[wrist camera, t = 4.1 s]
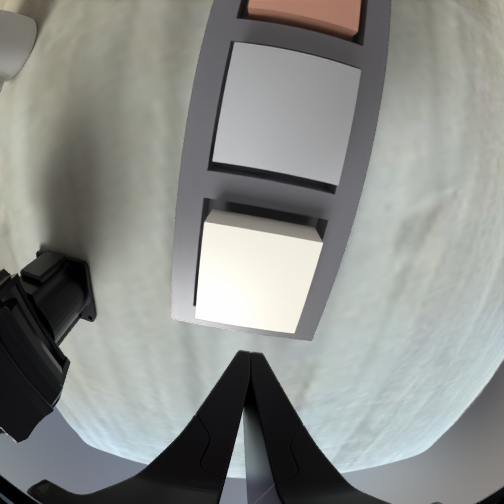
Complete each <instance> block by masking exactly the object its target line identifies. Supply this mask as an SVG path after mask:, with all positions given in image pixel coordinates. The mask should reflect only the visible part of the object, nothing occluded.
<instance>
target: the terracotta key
mask: <svg viewBox="0 0 504 504" xmlns="http://www.w3.org/2000/svg"><path fill="white" fill-rule="evenodd" d="M360 6H361V0H249V4H248V14H249V20H255V21H263V22H270V23H276V24H282V25H287V26H292V27H297V28H302V29H306V30H310V31H315V32H318V33H322V34H326V35H330V36H333V37H336V38H340V39H343V40H346V41H349V40H350V39H351V38H352V37H353V36H354V35H355V34H356V33H357V32H358V26H359V16H360Z"/></svg>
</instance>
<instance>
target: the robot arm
mask: <svg viewBox="0 0 504 504" xmlns="http://www.w3.org/2000/svg"><path fill="white" fill-rule="evenodd" d="M36 257H37V258H36V259H35V260H34V261H32V262H31V263H30V264H28V265H27V266H26V267H24V268H23V269H22V270H21V272H20V274H21V276H20V277H19V275H18V273H16V274H14V275H10V273H8V272H7V271H6V270H5V269H2V270H0V434H7V435H8V436H9V437H10V438H12V439H13V440H14V441H15V442H21V441H23V440H25V439H27V438H28V437H29V435H30V434H31V432H32V431H33V429H34V428H35V427H36V425H37V424H38V423H39V422H40V421H41V420H42V419H43V418H44V417H45V416H46V415H48V414H50V413H51V412H53V410H54V409H53V407H54V406H55V405H56V404H57V402H58V400H59V399H60V396H61V393H62V389H63V385H64V382H65V378H66V375H67V372H68V368H69V365H70V360H69V359H68V358H67V357H66V356H65V355H64V354H63V352H62V351H61V349H60V348H59V347H58V346H59V345H60V344H61V342H62V341H63V340H64V338H65V337H66V336H67V335H68V333H69V332H70V331H71V329H72V328H73V327H74V326H75V324H76V323H77V322H78V320H79V319H80V318H81V319H84V320H87V321H90V322H93V321H94V320H95V319H96V315H95V309H94V304H93V298H92V292H91V286H90V279H89V271H88V265H87V263H86V262H85V261H83V260H79V259H75V258H71V257H67V256H66V255H63V254H59V253H55V252H51V251H44V250H39V251H37V253H36ZM81 265H82V266H83V267H82V266H81ZM242 412H243V423H244V445H245V465H246V482H247V483H246V484H247V500H248V504H391V503H388V502H385V501H383V500H380V499H377V498H375V497H373V496H371V495H368V494H366V493H363V492H361V491H359V490H358V489H356V488H354V487H353V486H351V485H350V484H349V483H348V482H347V481H346V480H345V479H344V477H343V476H342V475H341V474H340V473H339V472H338V470H337V469H336V468H335V467H334V466H333V465H332V463H331V462H330V461H329V460H328V459H327V458H326V456H325V455H324V454H323V453H322V451H321V450H320V449H319V447H318V446H317V445H316V443H315V442H314V440H313V439H312V437H311V436H310V434H309V433H308V431H307V429H306V428H305V426H304V425H303V423H302V421H301V419H300V418H299V416H298V414H297V413H296V411H295V409H294V407H293V406H292V404H291V402H290V401H289V399H288V397H287V395H286V394H285V392H284V390H283V388H282V387H281V385H280V383H279V381H278V380H277V378H276V376H275V374H274V372H273V371H272V369H271V367H270V365H269V364H268V362H267V360H266V358H265V356H264V355H263V353H260V352H251V353H250V352H249V351H244V350H239V351H238V352H237V353H236V355H235V356H234V358H233V360H232V361H231V363H230V364H229V366H228V367H227V369H226V370H225V372H224V373H223V375H222V376H221V378H220V379H219V380H218V382H217V383H216V385H215V386H214V388H213V389H212V391H211V392H210V394H209V395H208V397H207V398H206V399H205V401H204V402H203V404H202V405H201V407H200V408H199V410H198V411H197V412H196V414H195V415H194V416H193V418H192V419H191V421H190V422H189V423H188V425H187V426H186V427H185V428H184V430H183V431H182V432H181V433H180V435H179V436H178V437H177V438H176V439H175V440H174V441H173V442H172V443H171V444H170V445H169V446H168V447H167V448H166V449H165V450H164V451H163V452H162V453H161V454H160V455H159V456H158V457H157V458H155V459H154V460H153V461H152V462H151V463H150V464H149V465H148V466H147V467H146V468H144V469H143V470H142V471H140V472H139V473H138V474H136V475H134V476H133V477H131V478H128V479H126V480H124V481H121V482H119V483H117V484H114V485H112V486H109V487H107V488H105V489H102V490H99V491H96V492H94V493H91V494H85V495H80V494H74V493H71V492H68V491H67V490H65V489H63V488H61V487H59V486H57V485H56V484H54V483H52V482H50V481H48V480H42V481H40V482H39V483H37V484H35V485H33V486H31V487H30V488H29V489H28V490H27V493H28V494H29V495H30V496H31V497H30V496H29V495H27V494H26V493H24V492H23V491H22V490H20V489H19V488H18V487H16V486H15V485H13V484H12V483H11V482H9V481H8V480H7V479H6V478H4V477H3V476H2V475H1V474H0V504H41V503H42V504H219V502H220V498H221V494H222V490H223V487H224V483H225V479H226V476H227V472H228V468H229V464H230V460H231V456H232V452H233V449H234V445H235V441H236V437H237V433H238V428H239V424H240V420H241V416H242ZM32 497H33V498H34V499H33V498H32ZM36 500H37V501H36ZM39 502H40V503H39ZM431 504H442V503H440V502H434V503H431ZM475 504H504V486H502V487H501V488H499V489H498V490H496V491H495V492H493V493H492V494H490V495H488V496H487V497H485V498H483V499H482V500H480V501H478V502H477V503H475Z"/></svg>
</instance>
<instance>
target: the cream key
mask: <svg viewBox="0 0 504 504" xmlns="http://www.w3.org/2000/svg"><path fill="white" fill-rule="evenodd" d="M322 245H323V242H322V240H321V238H320V236H319V234H318V232H317V231H316V229H315V227H310V226H305V225H300V224H295V223H289V222H284V221H279V220H273V219H268V218H262V217H257V216H251V215H245V214H239V213H234V212H228V211H222V210H215V209H212V211H211V212H210V214H209V215H208V217H207V218H206V220H205V222H204V229H203V238H202V247H201V257H200V267H199V278H198V290H197V303H196V316H195V318H198V319H203V320H208V321H214V322H220V323H225V324H231V325H237V326H243V327H250V328H256V329H263V330H270V331H278V332H286V333H295V330H296V327H297V324H298V321H299V319H300V316H301V313H302V310H303V307H304V304H305V301H306V298H307V295H308V291H309V288H310V285H311V282H312V279H313V276H314V272H315V269H316V266H317V262H318V259H319V256H320V252H321V249H322Z"/></svg>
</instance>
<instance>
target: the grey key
mask: <svg viewBox="0 0 504 504" xmlns="http://www.w3.org/2000/svg"><path fill="white" fill-rule="evenodd" d="M360 75H361V70H360V69H357V68H354V67H351V66H348V65H345V64H342V63H338V62H335V61H332V60H328V59H324V58H321V57H317V56H313V55H309V54H305V53H300V52H296V51H291V50H286V49H281V48H275V47H269V46H263V45H256V44H248V43H239V42H235V43H234V47H233V52H232V56H231V61H230V66H229V70H228V75H227V80H226V85H225V90H224V96H223V101H222V107H221V112H220V118H219V123H218V129H217V135H216V142H215V148H214V154H213V161H214V162H221V163H228V164H234V165H240V166H246V167H252V168H258V169H264V170H269V171H274V172H279V173H284V174H289V175H294V176H299V177H304V178H308V179H313V180H317V181H321V182H326V183H330V184H334V185H339V181H340V177H341V173H342V168H343V164H344V160H345V155H346V150H347V146H348V141H349V136H350V131H351V126H352V121H353V116H354V111H355V105H356V99H357V94H358V88H359V81H360Z"/></svg>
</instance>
